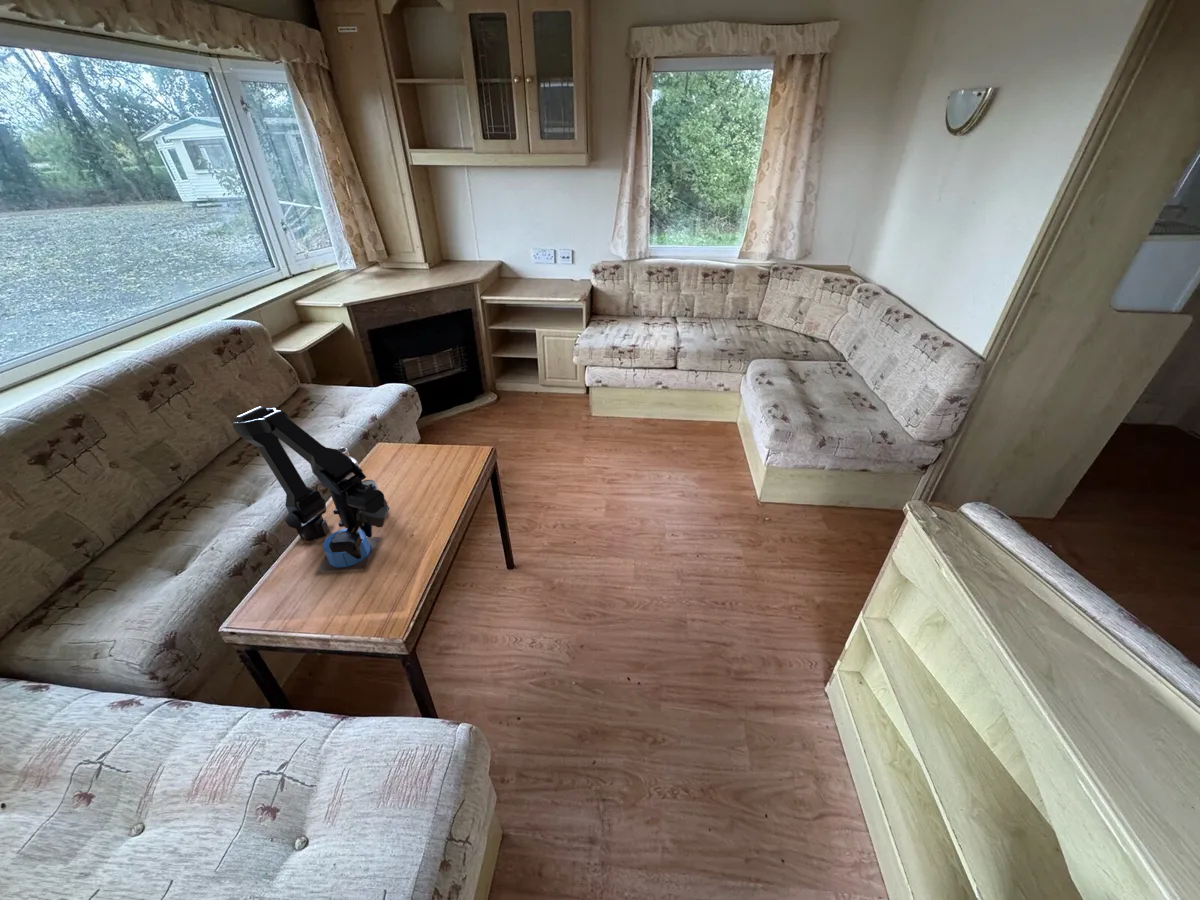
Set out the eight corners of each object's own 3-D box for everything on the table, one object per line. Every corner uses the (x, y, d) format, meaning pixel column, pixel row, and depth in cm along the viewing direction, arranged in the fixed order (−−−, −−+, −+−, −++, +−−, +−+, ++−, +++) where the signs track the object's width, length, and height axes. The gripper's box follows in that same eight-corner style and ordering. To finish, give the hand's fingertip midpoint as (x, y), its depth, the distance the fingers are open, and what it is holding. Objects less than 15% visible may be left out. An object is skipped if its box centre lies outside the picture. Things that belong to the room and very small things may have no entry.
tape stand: (318, 573, 124) (311, 559, 121) (336, 541, 134) (330, 527, 131) (365, 570, 125) (360, 556, 122) (380, 539, 135) (375, 525, 132)
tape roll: (322, 568, 124) (316, 555, 122) (337, 541, 133) (332, 528, 130) (362, 566, 125) (357, 552, 122) (375, 539, 134) (370, 526, 131)
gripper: (367, 523, 112) (384, 571, 121) (391, 478, 128) (404, 522, 137) (318, 526, 112) (339, 574, 120) (348, 480, 128) (364, 525, 136)
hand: (364, 547), depth 128 cm, fingers closed on tape roll, 8 cm apart
